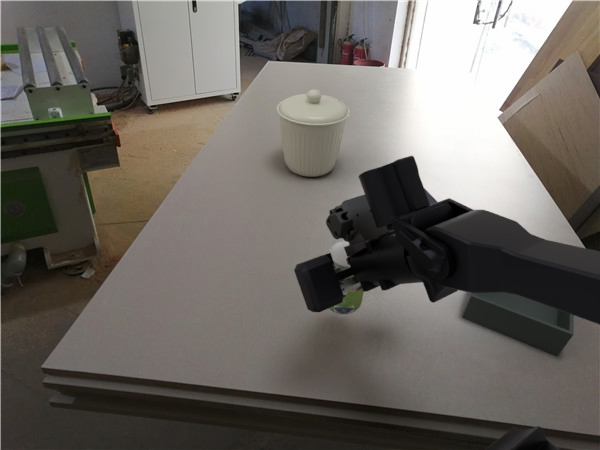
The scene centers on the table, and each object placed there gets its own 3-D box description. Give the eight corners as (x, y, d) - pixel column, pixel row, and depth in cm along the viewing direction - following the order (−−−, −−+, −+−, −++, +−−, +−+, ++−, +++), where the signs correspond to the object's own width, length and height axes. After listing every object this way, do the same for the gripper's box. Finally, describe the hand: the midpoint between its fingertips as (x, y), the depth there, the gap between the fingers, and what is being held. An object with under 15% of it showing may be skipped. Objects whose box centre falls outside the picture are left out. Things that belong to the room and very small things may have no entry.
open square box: (557, 356, 65) (573, 334, 62) (461, 317, 71) (471, 295, 67) (561, 288, 77) (575, 267, 74) (479, 260, 83) (488, 239, 79)
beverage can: (362, 292, 66) (374, 234, 58) (358, 327, 60) (371, 268, 53) (324, 285, 66) (331, 227, 59) (316, 319, 61) (323, 259, 53)
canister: (327, 147, 119) (333, 75, 106) (354, 179, 106) (365, 100, 93) (268, 156, 114) (267, 80, 101) (288, 190, 100) (290, 108, 87)
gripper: (434, 173, 50) (367, 202, 64) (305, 214, 42) (261, 236, 56) (466, 258, 49) (391, 268, 64) (341, 315, 42) (288, 312, 56)
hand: (336, 269), depth 60 cm, fingers closed on beverage can, 6 cm apart
